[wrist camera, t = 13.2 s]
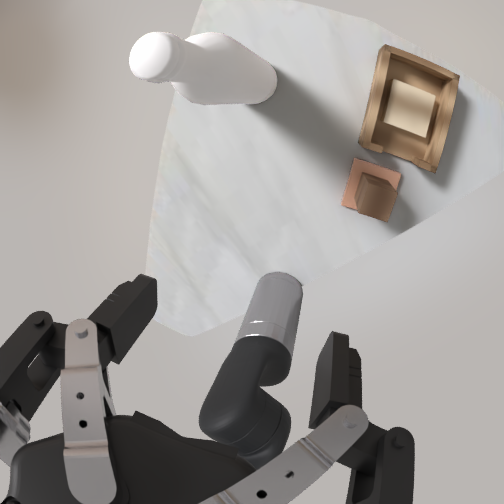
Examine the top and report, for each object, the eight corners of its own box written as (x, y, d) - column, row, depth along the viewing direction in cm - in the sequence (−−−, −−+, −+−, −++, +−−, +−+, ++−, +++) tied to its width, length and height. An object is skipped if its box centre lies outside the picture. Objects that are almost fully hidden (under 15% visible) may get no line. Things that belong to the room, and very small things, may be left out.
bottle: (240, 112, 44) (127, 131, 18) (220, 71, 41) (91, 48, 15) (286, 92, 41) (225, 72, 15) (265, 50, 38) (177, -17, 12)
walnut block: (388, 180, 42) (397, 193, 36) (379, 205, 45) (387, 222, 39) (362, 171, 43) (368, 183, 37) (354, 197, 45) (358, 212, 39)
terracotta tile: (385, 216, 46) (386, 218, 45) (341, 203, 47) (341, 205, 46) (399, 172, 42) (401, 174, 41) (354, 157, 43) (354, 158, 42)
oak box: (425, 166, 40) (435, 173, 36) (358, 142, 42) (361, 147, 38) (447, 77, 32) (459, 75, 28) (378, 50, 34) (385, 44, 29)
